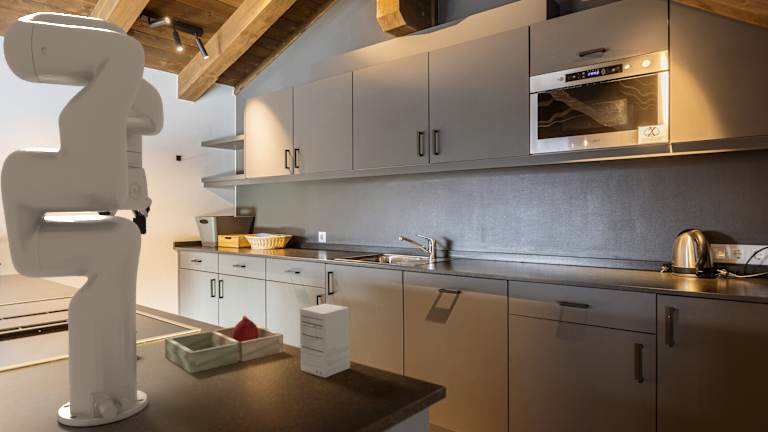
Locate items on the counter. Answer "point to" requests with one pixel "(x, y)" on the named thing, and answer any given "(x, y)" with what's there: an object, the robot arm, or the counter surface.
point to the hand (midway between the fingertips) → (125, 235)
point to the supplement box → (325, 339)
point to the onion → (245, 330)
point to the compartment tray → (220, 348)
